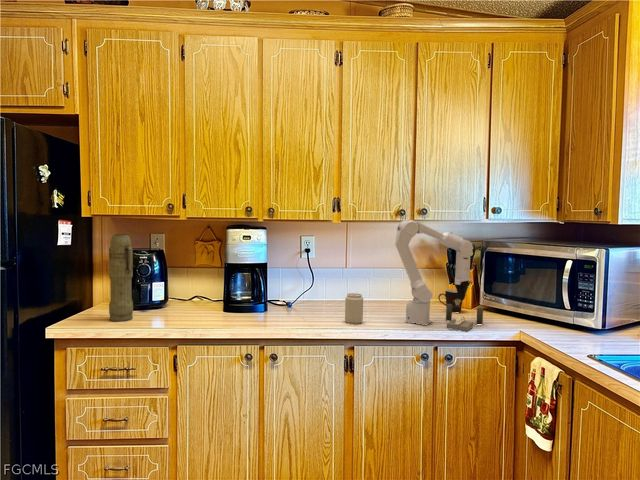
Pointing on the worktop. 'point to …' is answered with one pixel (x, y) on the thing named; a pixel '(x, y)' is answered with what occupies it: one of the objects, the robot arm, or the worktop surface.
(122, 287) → the thermos
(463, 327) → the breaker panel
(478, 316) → the post
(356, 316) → the can
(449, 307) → the post
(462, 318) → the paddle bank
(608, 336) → the worktop surface
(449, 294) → the coffee mug
